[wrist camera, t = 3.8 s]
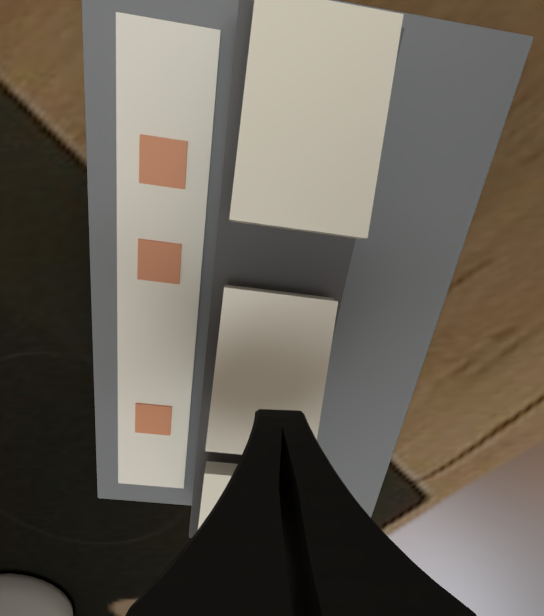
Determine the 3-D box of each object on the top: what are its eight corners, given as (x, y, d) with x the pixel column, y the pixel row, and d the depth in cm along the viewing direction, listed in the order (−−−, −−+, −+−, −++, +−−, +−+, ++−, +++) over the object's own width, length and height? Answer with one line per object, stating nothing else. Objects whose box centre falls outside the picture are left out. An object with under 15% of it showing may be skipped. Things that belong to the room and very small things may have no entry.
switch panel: (515, 41, 16) (588, 21, 13) (365, 502, 27) (382, 564, 23) (93, -36, 15) (40, -83, 12) (104, 481, 25) (78, 543, 22)
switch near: (379, 47, 13) (403, 13, 11) (350, 238, 14) (367, 238, 12) (254, 25, 13) (255, -14, 11) (231, 222, 14) (228, 219, 12)
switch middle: (327, 294, 17) (338, 301, 15) (305, 436, 18) (313, 460, 16) (226, 281, 17) (224, 287, 15) (209, 427, 17) (205, 451, 15)
